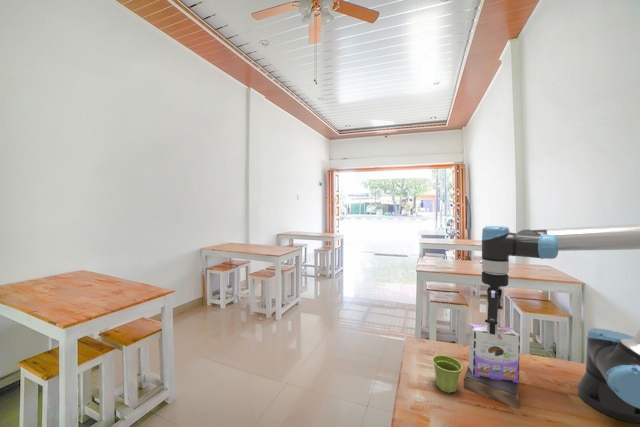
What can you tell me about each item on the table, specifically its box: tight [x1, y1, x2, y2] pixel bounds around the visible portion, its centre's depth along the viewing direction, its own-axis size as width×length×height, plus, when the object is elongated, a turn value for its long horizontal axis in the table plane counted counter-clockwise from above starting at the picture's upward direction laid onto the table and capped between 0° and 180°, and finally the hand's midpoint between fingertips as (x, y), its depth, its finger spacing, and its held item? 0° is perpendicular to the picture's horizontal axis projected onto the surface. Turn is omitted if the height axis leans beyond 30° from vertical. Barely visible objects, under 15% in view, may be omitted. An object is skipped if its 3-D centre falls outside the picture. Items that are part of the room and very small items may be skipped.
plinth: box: [463, 364, 520, 409], centre depth 90 cm, size 15×9×4 cm, turn 53°
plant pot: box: [431, 354, 463, 394], centre depth 91 cm, size 9×9×9 cm
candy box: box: [468, 323, 521, 384], centre depth 92 cm, size 14×6×16 cm, turn 75°
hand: (494, 334), depth 89 cm, fingers open, 13 cm apart
